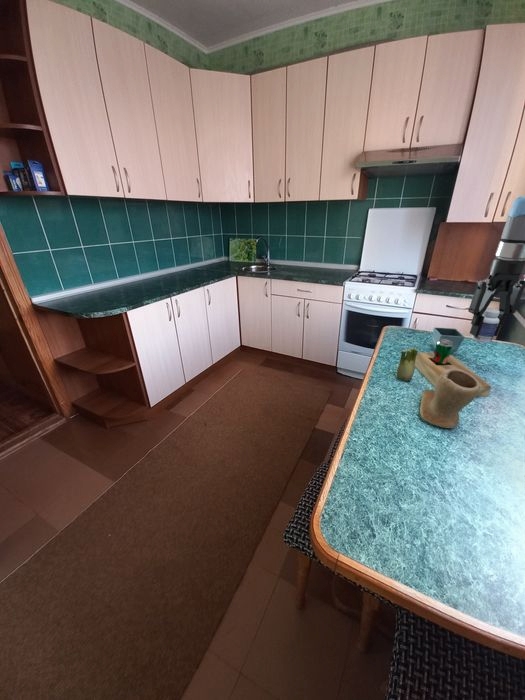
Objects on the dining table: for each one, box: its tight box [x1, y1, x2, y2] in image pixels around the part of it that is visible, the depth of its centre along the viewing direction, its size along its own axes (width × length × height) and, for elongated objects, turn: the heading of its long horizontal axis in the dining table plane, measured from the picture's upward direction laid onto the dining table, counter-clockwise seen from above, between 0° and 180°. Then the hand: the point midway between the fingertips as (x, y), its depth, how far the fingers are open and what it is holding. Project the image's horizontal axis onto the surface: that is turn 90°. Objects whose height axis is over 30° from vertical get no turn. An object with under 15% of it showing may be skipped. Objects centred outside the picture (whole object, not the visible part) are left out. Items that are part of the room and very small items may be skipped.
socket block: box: [415, 352, 492, 398], centre depth 103 cm, size 14×24×4 cm, turn 2°
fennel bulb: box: [396, 347, 419, 382], centre depth 101 cm, size 6×5×12 cm
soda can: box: [432, 339, 453, 365], centre depth 106 cm, size 5×5×12 cm
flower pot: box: [432, 327, 465, 355], centre depth 120 cm, size 9×9×9 cm
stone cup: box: [419, 369, 480, 429], centre depth 83 cm, size 15×12×15 cm
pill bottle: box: [471, 307, 500, 344], centre depth 90 cm, size 5×5×10 cm
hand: (483, 334), depth 91 cm, fingers closed on pill bottle, 5 cm apart
